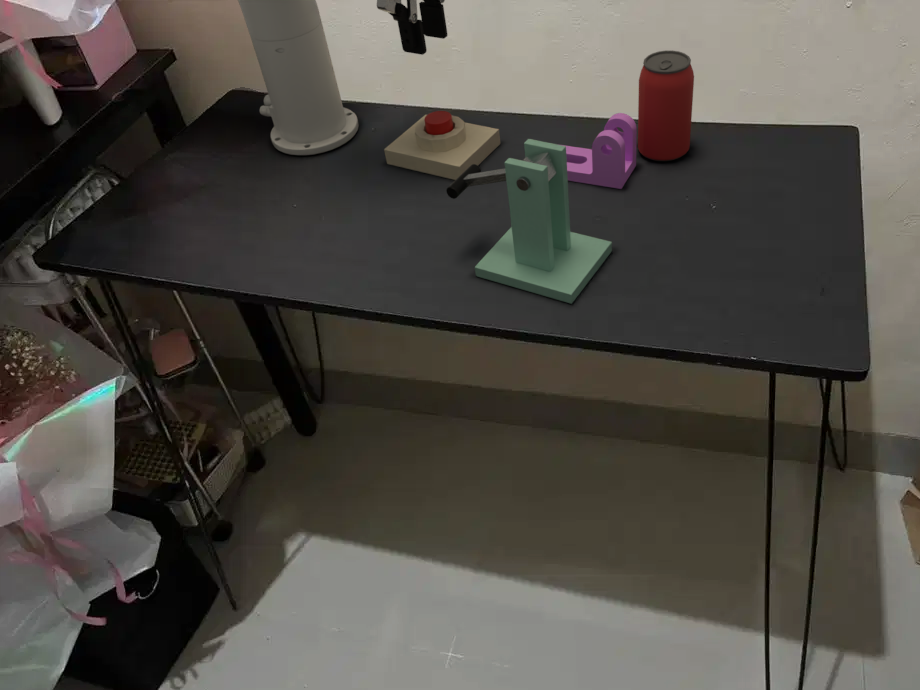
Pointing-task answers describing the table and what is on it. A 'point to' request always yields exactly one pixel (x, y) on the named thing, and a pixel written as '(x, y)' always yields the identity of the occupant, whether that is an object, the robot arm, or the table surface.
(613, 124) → the bracket
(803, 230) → the table surface
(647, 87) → the beer can
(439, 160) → the control block
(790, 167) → the table surface
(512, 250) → the bracket
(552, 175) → the lever
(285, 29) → the robot arm
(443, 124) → the button
